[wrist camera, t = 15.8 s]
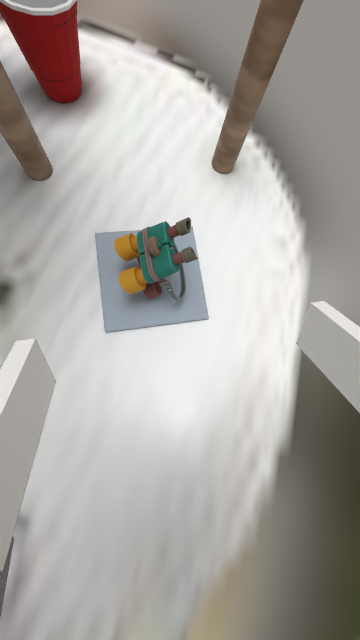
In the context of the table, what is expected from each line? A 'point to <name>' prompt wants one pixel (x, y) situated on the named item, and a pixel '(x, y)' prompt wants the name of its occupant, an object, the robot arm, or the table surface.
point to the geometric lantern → (5, 574)
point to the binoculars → (154, 259)
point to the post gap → (255, 73)
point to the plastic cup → (48, 43)
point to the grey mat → (136, 308)
